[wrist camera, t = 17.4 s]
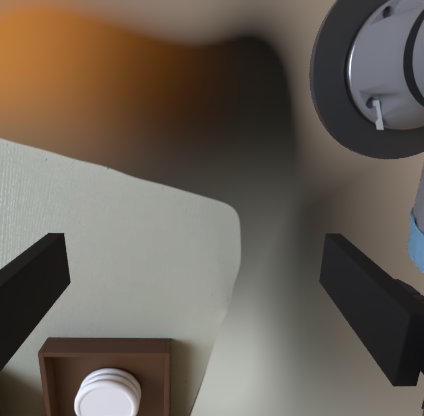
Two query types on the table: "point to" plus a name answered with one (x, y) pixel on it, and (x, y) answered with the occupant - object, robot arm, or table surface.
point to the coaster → (108, 394)
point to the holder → (99, 359)
